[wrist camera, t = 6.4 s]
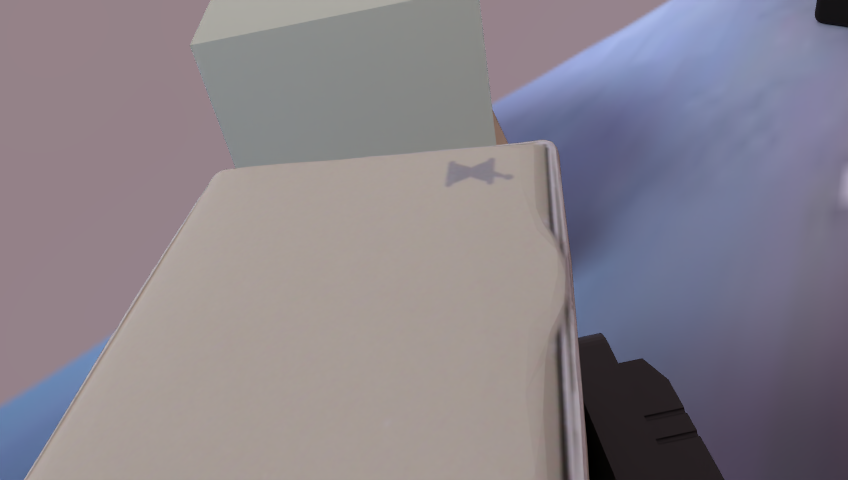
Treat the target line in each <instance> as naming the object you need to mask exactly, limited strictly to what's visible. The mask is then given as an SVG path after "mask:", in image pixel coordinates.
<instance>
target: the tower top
mask: <svg viewBox="0 0 848 480" xmlns="http://www.w3.org/2000/svg"><path fill="white" fill-rule="evenodd" d="M190 47H191V49H192V52H193V54H194V57H195V60H196V63H197V66H198V68H199V71H200V74H201V76H202V79H203V82H204V84H205V87H206V90H207V92H208V95H209V98H210V101H211V103H212V106H213V109H214V111H215V114H216V116H217V119H218V122H219V125H220V127H221V130H222V132H223V136H224V138H225V141H226V143H227V146H228V149H229V152H230V154H231V157H232V160H233V162H234V165H235V168H242V167H251V166H261V165H272V164H284V163H297V162H312V161H327V160H340V159H349V158H361V157H368V156H383V155H396V154H407V153H417V152H424V151H438V150H446V149H462V148H472V147H487V146H494V145H496V137H495V128H494V120H493V111H492V103H491V95H490V87H489V78H488V70H487V61H486V52H485V44H484V35H483V27H482V18H481V10H480V1H479V0H211V1H210V3H209V5H208V7H207V9H206V12H205V14H204V16H203V18H202V20H201V22H200V25H199V27H198V29H197V31H196V33H195V36H194V38H193V40H192V42H191V44H190Z"/></svg>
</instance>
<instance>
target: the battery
mask: <svg viewBox="0 0 848 480" xmlns="http://www.w3.org/2000/svg"><path fill="white" fill-rule="evenodd" d="M815 18H816V20H817V21H819V22H821V23H827V24H834V25H842V26H848V0H817V3H816V9H815Z"/></svg>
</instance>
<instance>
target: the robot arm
mask: <svg viewBox="0 0 848 480" xmlns="http://www.w3.org/2000/svg"><path fill="white" fill-rule="evenodd" d="M578 346H579V358H580V369H581V381H582V393H583V404H584V416H585V428H586V440H587V453H588V469H589V480H724V478H723V476H722V475H721V473H720V471H719V469H718V468H717V466H716V464H715V462H714V460H713V459H712V457H711V455H710V453H709V451H708V450H707V448H706V446H705V444H704V442H703V441H702V439H701V437H700V436H698V434H697V430H696V428H695V426H694V425H693V423H692V421H691V419H690V417H689V416H688V414H687V413H685V411H684V407H683V405H682V403H681V401H680V400H679V398H678V396H677V394H676V392H675V391H674V389H673V387H672V385H671V383H670V382H669V380H668V379H667V378H666V377H664V376H663V375H662V374H661V373H660V372H658V371H657V370H656V369H655V368H653V367H652V366H651V365H650V364H648V363H647V362H646V361H645V360H643V359H637V360H632V361H628V362H623V363H618V362H617V360H616V358H615V356H614V354H613V352H612V350H611V348H610V346H609V344H608V342H607V340H606V338H605V337H604V335H603V334H601V333H598V334H594V335H589V336H584V337H579V338H578Z"/></svg>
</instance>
